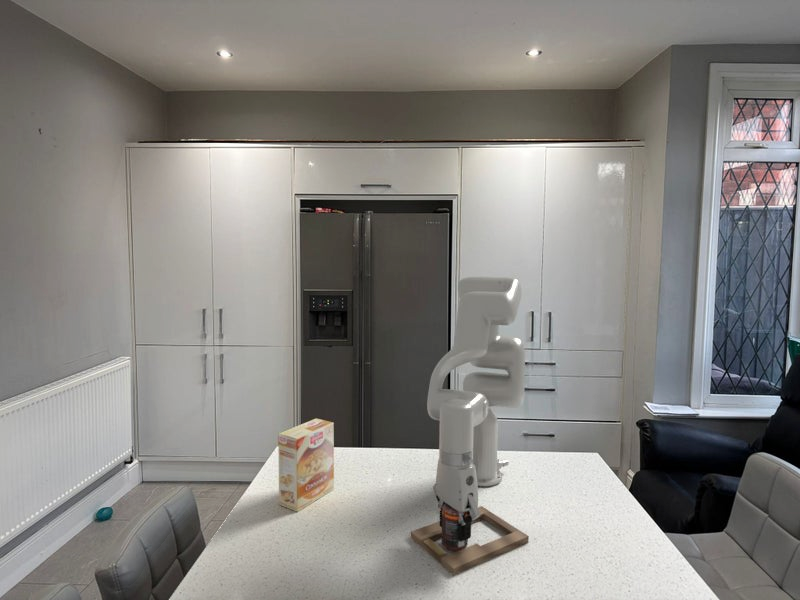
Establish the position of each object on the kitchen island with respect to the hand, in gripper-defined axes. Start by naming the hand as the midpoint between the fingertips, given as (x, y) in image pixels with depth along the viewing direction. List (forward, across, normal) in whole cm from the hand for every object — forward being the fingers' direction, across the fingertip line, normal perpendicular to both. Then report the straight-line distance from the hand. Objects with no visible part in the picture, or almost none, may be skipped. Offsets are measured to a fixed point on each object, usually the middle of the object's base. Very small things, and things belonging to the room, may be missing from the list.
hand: (454, 531), depth 112 cm
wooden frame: (+3, 0, -4) cm, 5 cm away
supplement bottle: (+3, 0, 0) cm, 3 cm away
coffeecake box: (+4, +39, +20) cm, 44 cm away
